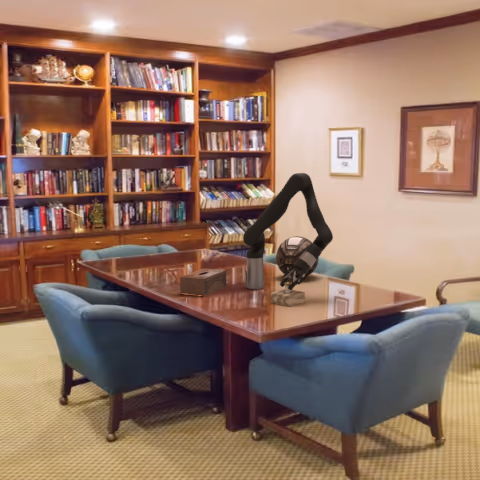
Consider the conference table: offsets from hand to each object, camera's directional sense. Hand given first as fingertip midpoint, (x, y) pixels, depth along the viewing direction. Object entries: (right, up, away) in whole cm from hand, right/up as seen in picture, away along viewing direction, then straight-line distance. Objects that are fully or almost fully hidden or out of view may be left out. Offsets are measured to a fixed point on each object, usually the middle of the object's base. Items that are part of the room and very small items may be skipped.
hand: (285, 287), depth 299 cm
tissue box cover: (-42, -5, +32) cm, 53 cm away
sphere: (+12, +1, +59) cm, 60 cm away
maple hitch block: (+1, -7, +2) cm, 8 cm away
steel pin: (+1, -7, +2) cm, 8 cm away
